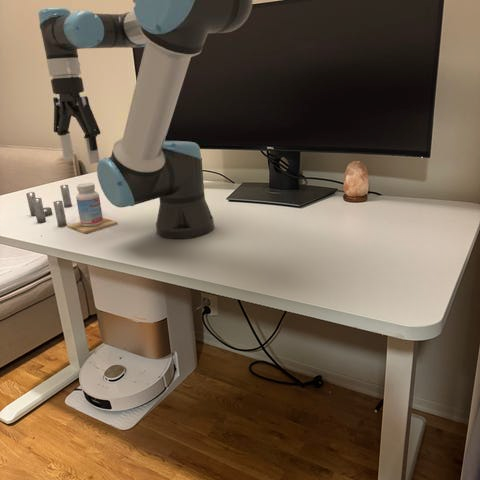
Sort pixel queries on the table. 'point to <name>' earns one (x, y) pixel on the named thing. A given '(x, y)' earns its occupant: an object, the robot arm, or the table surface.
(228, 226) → the table surface
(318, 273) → the table surface
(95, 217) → the pill bottle
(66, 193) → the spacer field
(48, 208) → the steel nut
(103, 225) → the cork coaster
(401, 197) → the table surface
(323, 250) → the table surface
